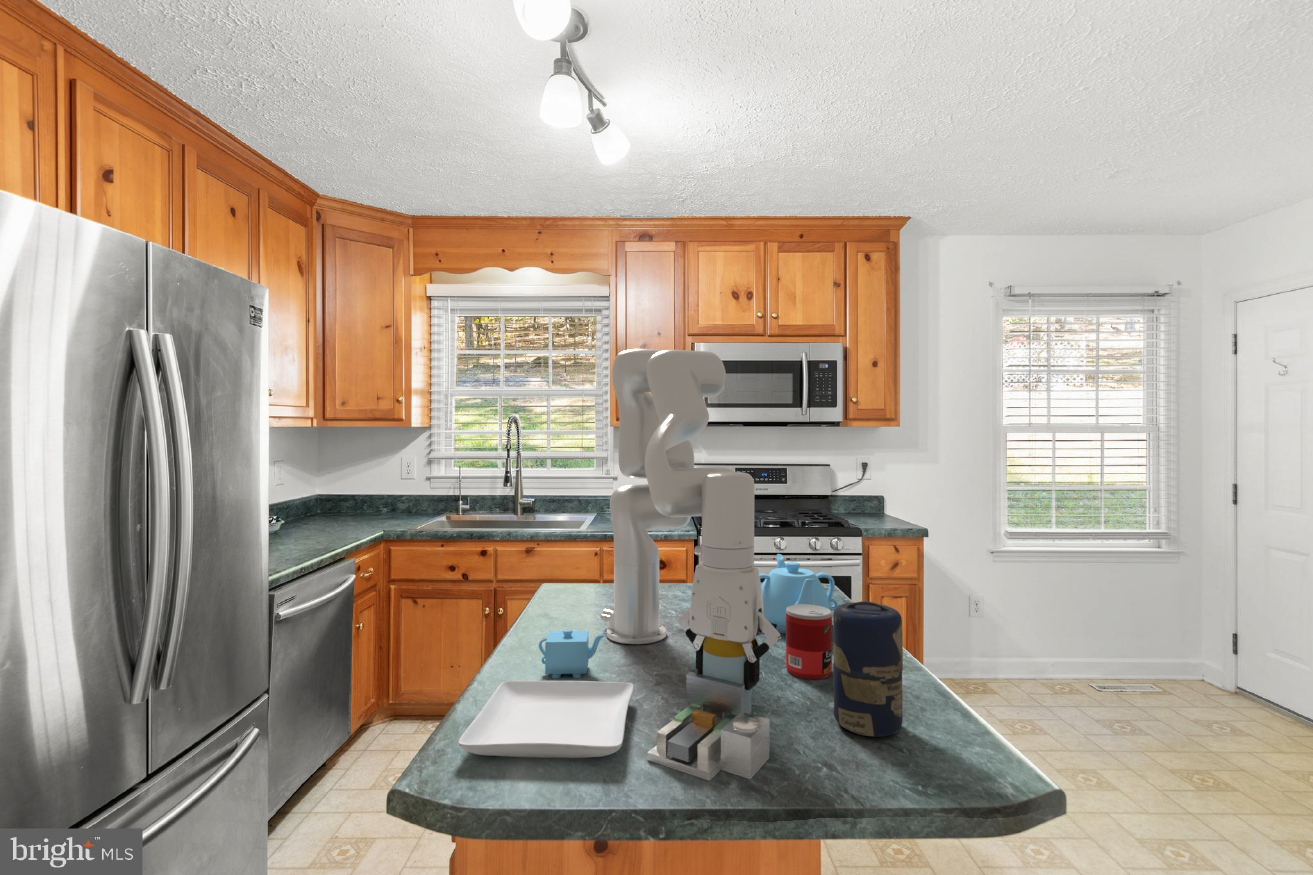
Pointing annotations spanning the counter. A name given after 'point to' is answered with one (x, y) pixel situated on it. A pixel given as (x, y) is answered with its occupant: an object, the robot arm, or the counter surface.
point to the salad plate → (551, 720)
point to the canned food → (809, 641)
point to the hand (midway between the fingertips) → (727, 680)
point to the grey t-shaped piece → (705, 711)
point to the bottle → (725, 658)
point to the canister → (868, 668)
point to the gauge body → (718, 746)
